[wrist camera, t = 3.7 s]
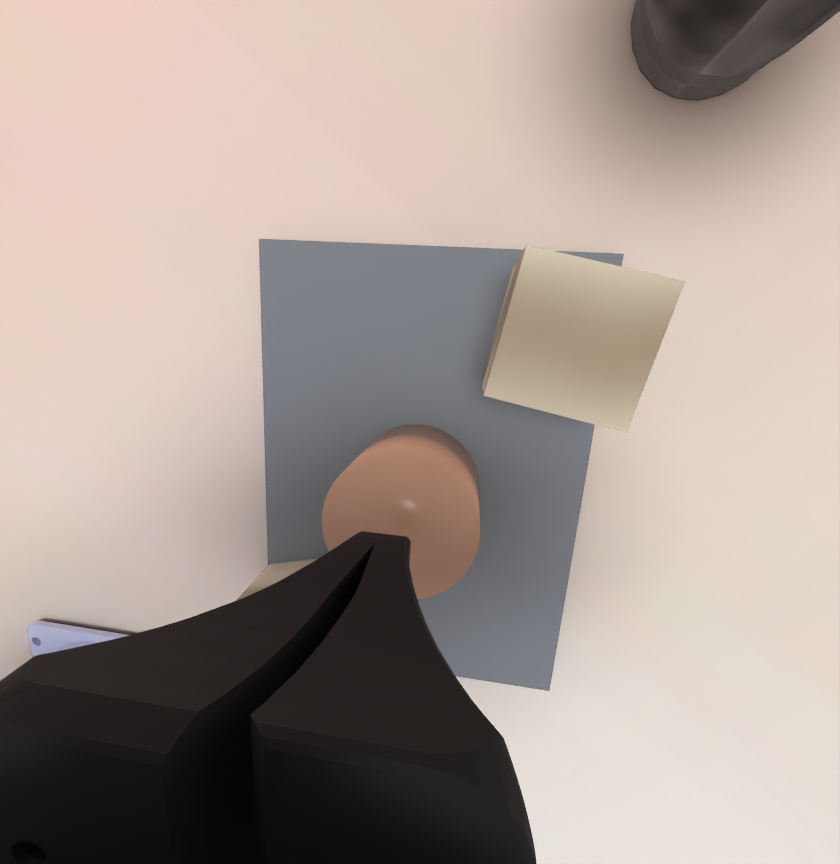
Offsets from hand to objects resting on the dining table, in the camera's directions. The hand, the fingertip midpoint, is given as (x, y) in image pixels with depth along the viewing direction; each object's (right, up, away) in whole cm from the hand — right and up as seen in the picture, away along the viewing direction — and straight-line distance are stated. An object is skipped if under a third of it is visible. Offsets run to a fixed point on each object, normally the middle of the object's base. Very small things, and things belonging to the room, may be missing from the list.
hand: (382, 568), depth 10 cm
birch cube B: (+6, +7, +4) cm, 10 cm away
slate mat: (+1, +2, +7) cm, 7 cm away
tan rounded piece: (+1, +1, +6) cm, 6 cm away
